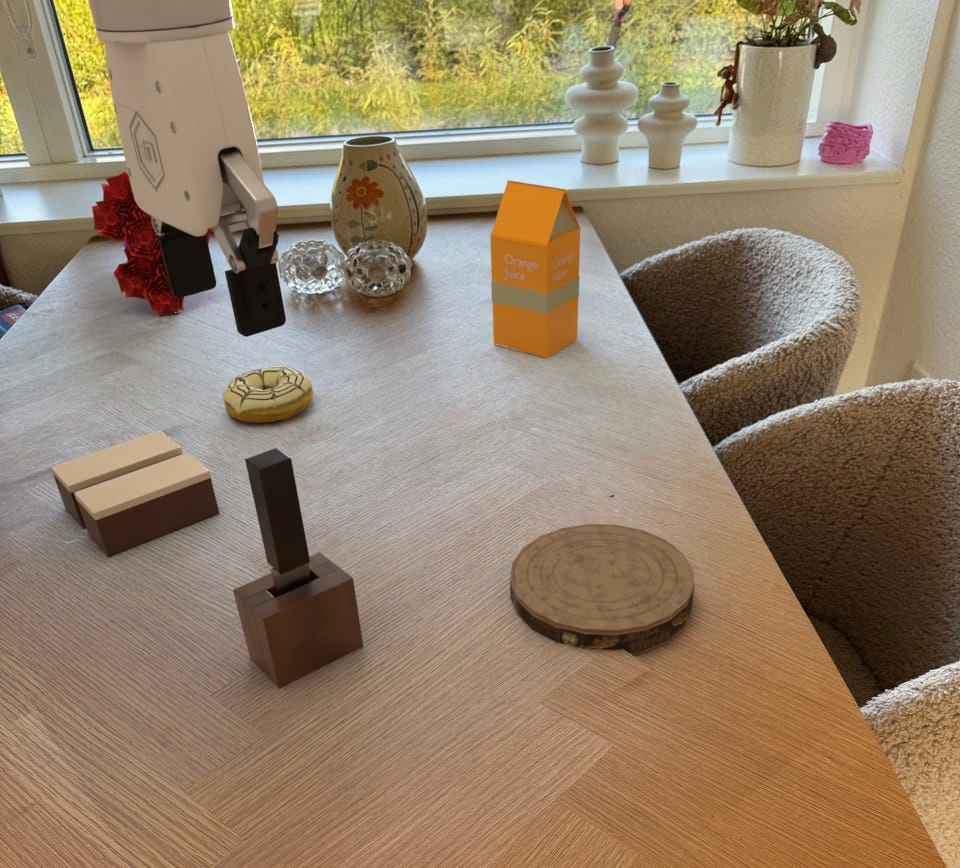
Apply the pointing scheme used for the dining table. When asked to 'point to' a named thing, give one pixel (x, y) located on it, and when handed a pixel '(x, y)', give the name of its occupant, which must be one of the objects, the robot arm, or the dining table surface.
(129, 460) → the cake
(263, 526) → the knife
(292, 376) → the decorated donut
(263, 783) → the dining table surface
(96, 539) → the cake slice
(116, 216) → the bouquet
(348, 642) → the knife block
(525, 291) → the orange juice
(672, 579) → the wood slice coaster
